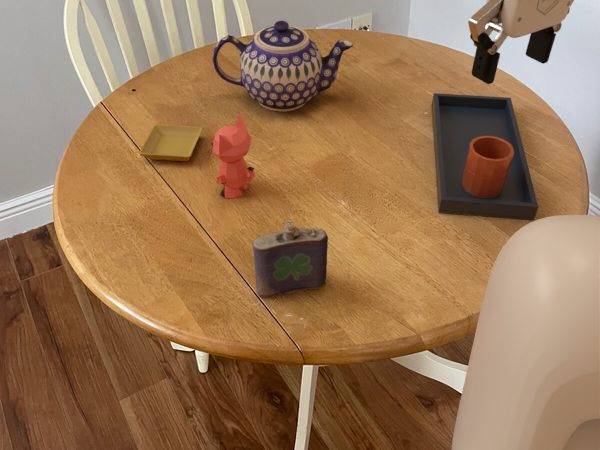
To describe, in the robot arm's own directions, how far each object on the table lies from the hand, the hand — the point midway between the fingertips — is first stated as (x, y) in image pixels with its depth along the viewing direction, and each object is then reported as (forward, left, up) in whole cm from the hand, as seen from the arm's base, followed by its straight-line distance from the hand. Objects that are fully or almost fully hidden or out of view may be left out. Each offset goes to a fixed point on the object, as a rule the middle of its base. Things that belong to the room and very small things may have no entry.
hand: (509, 68), depth 74 cm
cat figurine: (+21, +30, -21) cm, 42 cm away
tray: (+7, -7, -21) cm, 23 cm away
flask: (0, +33, -21) cm, 39 cm away
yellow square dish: (+36, +34, -21) cm, 54 cm away
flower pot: (+1, -2, -21) cm, 21 cm away
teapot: (+40, +10, -21) cm, 47 cm away
